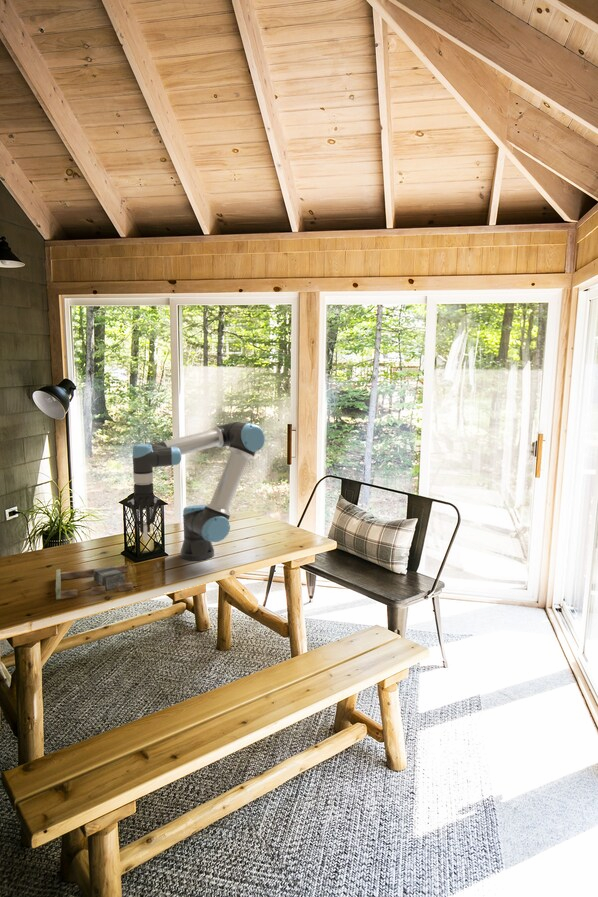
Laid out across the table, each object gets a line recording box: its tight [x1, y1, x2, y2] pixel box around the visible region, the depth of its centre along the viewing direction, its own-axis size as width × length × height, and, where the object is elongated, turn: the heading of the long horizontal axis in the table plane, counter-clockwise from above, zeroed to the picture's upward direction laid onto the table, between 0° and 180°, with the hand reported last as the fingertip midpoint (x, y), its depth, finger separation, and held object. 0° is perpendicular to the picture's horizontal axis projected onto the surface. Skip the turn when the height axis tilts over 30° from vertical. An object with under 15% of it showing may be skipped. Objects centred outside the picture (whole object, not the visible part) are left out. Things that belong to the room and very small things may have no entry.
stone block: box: [93, 566, 127, 591], centre depth 245 cm, size 9×14×5 cm, turn 37°
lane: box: [55, 564, 133, 600], centre depth 243 cm, size 28×23×4 cm
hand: (145, 540), depth 248 cm, fingers closed
